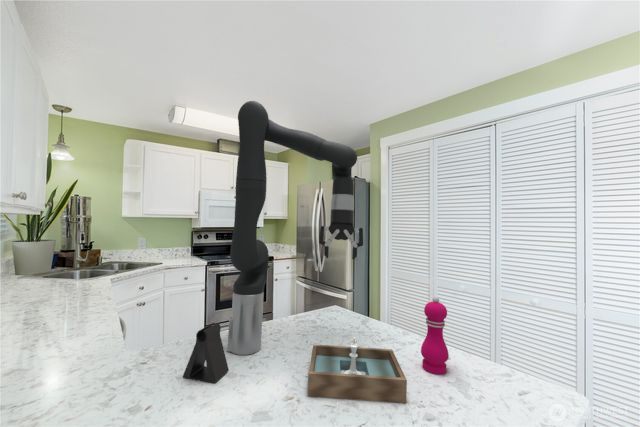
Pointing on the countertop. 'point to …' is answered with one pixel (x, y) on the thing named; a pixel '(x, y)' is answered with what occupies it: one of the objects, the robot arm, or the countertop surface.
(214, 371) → the phone stand
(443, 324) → the pepper mill
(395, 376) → the box
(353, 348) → the chess piece
